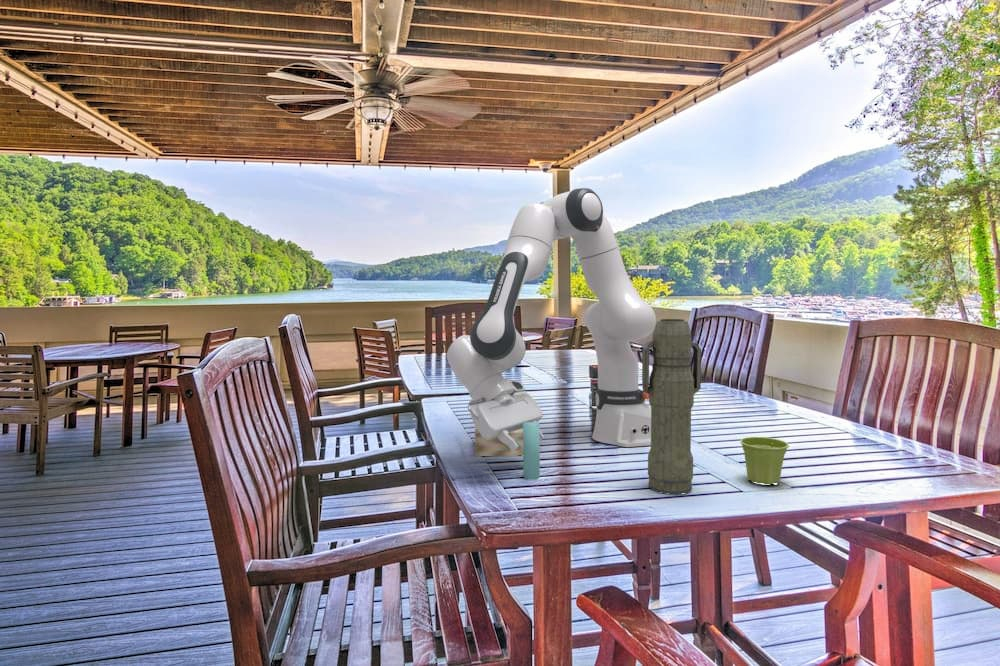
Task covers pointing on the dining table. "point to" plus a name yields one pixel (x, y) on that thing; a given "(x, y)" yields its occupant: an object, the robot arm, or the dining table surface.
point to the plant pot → (764, 458)
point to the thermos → (671, 404)
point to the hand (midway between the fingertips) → (529, 444)
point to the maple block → (497, 445)
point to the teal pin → (531, 450)
